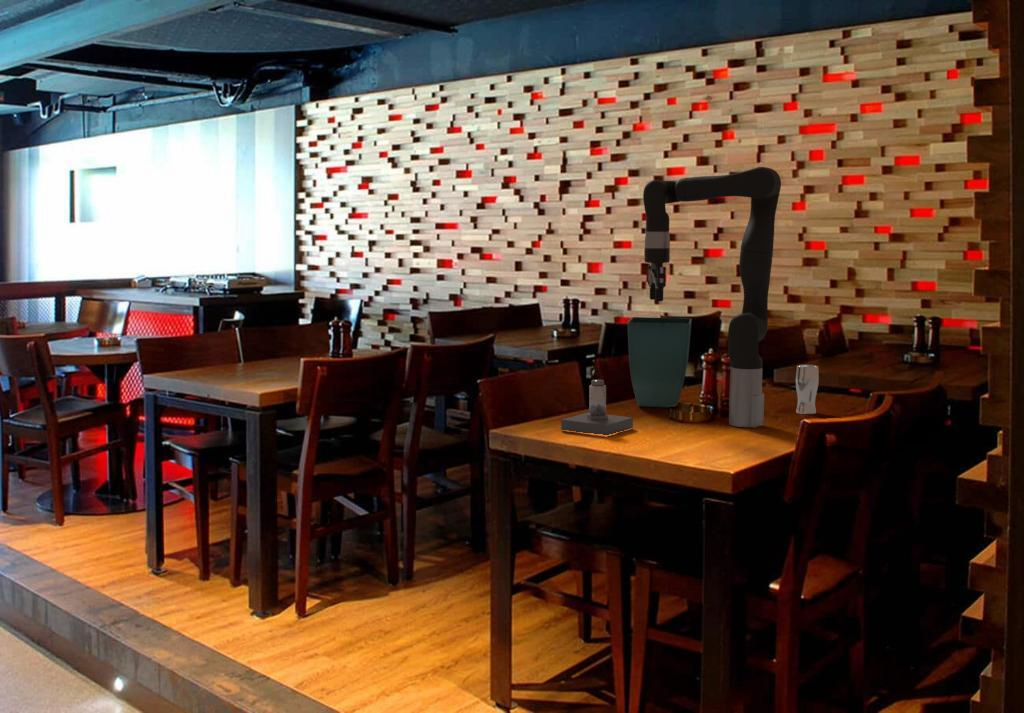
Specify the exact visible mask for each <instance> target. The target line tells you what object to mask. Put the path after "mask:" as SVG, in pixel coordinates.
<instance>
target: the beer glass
mask: <svg viewBox="0 0 1024 713" xmlns="http://www.w3.org/2000/svg"><path fill="white" fill-rule="evenodd" d="M819 374H820V373H819V365H816V364H815V365H814V364H798V365H796V373H795V388H796V395H797V405H796V410H795V412H796V413H797V414H800V415H815V414H817V409H816V397H817V393H818V388H819V383H820V382H819V381H820V380H819V379H820V377H819V376H820V375H819Z"/></svg>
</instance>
